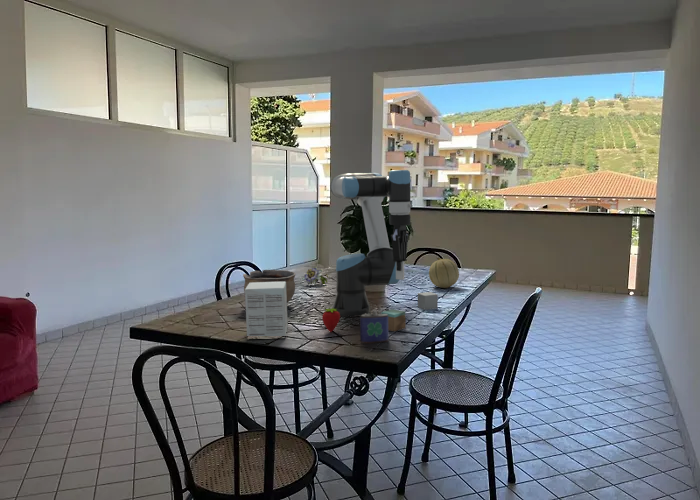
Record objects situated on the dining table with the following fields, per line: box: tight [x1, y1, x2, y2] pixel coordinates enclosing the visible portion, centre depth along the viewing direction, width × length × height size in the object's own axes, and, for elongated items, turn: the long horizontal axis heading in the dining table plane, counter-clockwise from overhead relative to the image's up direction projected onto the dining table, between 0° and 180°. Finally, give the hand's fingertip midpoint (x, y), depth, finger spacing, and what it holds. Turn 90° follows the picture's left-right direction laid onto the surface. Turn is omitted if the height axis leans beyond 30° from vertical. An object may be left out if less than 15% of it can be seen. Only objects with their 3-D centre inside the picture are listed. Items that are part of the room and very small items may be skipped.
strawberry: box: [321, 303, 341, 333], centre depth 177 cm, size 6×8×10 cm
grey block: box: [417, 291, 439, 311], centre depth 212 cm, size 6×6×6 cm
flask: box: [359, 309, 390, 344], centre depth 165 cm, size 9×3×11 cm, turn 95°
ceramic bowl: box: [242, 269, 297, 304], centre depth 217 cm, size 22×22×15 cm
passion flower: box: [301, 266, 329, 285], centre depth 269 cm, size 11×11×12 cm
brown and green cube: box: [380, 309, 407, 332], centre depth 181 cm, size 6×6×6 cm
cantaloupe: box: [428, 257, 460, 289], centre depth 253 cm, size 15×15×15 cm
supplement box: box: [244, 281, 289, 337], centre depth 176 cm, size 13×13×18 cm
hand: (400, 279), depth 184 cm, fingers closed
